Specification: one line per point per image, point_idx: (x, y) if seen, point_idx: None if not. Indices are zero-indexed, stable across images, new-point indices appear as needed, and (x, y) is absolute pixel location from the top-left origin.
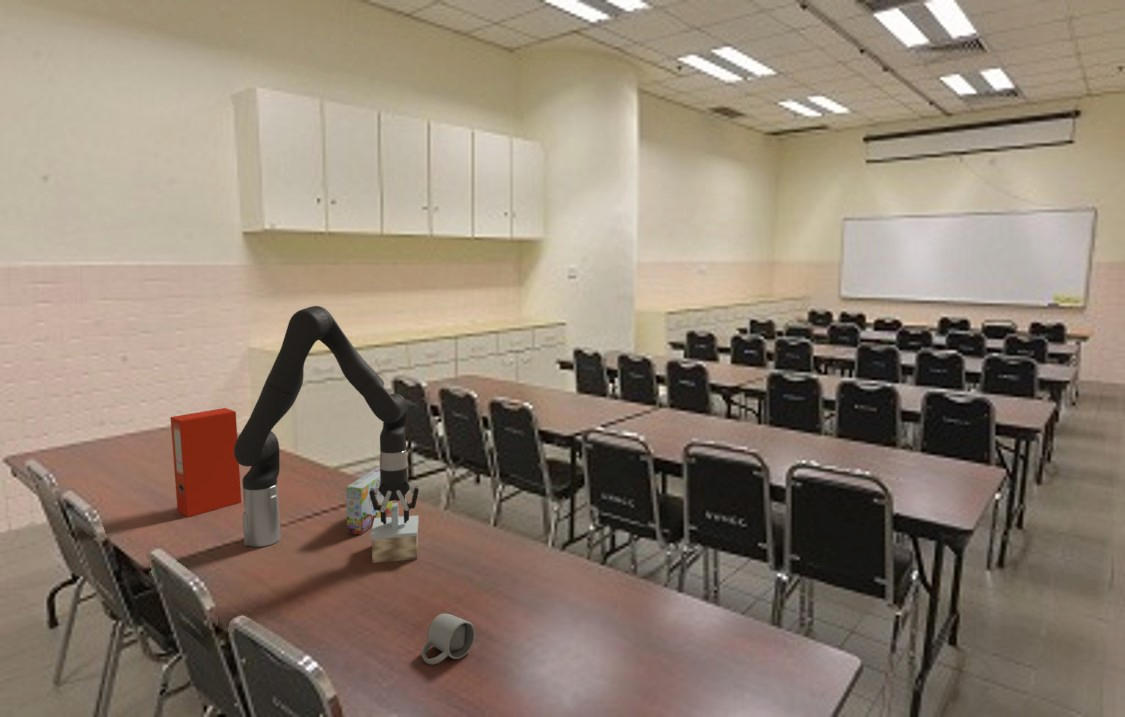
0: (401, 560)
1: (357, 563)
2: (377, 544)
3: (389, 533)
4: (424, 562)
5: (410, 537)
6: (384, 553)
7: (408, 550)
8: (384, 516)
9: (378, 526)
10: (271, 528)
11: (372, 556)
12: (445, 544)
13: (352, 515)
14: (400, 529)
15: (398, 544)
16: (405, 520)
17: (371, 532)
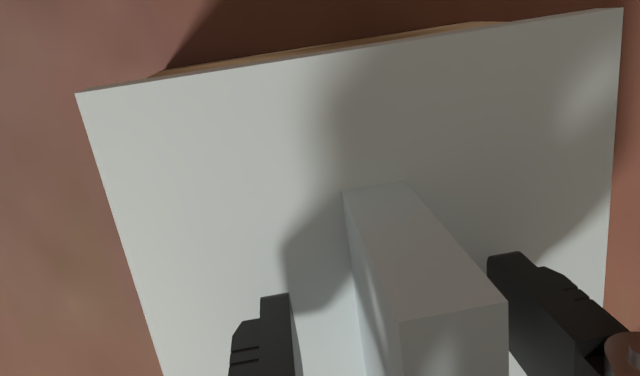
0: (275, 52)
1: (571, 11)
2: None
3: (414, 72)
4: (90, 16)
5: None
6: (408, 36)
7: (216, 66)
8: (552, 302)
9: (549, 252)
10: None
11: (492, 22)
12: (28, 302)
13: None
14: (307, 183)
15: None
16: (271, 310)
17: (614, 100)
